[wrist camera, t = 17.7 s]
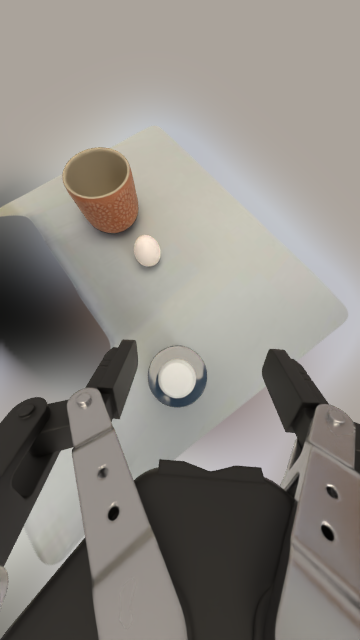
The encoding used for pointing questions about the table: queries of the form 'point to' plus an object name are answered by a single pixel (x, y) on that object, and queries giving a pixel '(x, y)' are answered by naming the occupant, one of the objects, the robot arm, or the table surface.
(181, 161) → the table surface
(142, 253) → the egg
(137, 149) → the table surface
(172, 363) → the pill bottle
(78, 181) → the planter
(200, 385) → the cup
